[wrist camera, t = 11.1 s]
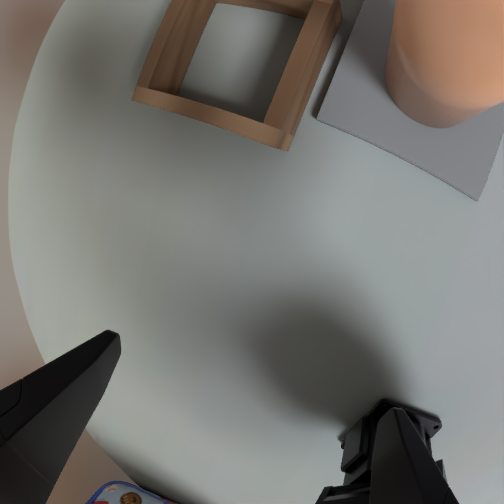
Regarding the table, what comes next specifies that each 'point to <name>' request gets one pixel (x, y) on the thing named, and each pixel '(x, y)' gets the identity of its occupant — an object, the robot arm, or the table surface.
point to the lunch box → (125, 495)
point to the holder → (289, 88)
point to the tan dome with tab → (446, 59)
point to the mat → (395, 121)
